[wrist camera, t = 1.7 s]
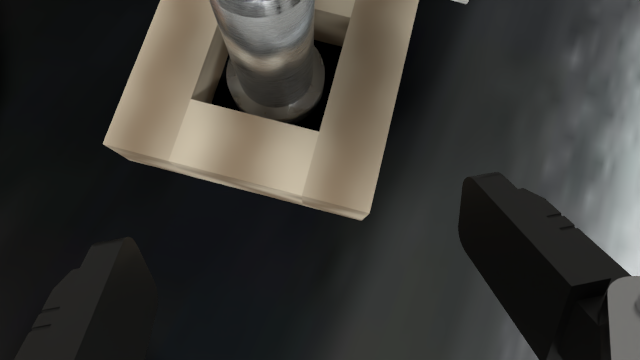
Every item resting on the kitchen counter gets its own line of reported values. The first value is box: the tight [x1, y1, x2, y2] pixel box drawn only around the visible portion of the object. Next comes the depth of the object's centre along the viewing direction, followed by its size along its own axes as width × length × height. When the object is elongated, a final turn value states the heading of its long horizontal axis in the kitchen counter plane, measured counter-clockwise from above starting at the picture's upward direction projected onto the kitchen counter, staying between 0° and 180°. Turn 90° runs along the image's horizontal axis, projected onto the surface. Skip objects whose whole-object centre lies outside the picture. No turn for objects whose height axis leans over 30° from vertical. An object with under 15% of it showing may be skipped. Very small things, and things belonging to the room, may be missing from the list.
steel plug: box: [209, 0, 325, 125], centre depth 22 cm, size 7×7×12 cm
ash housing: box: [103, 0, 419, 221], centre depth 26 cm, size 16×16×4 cm
